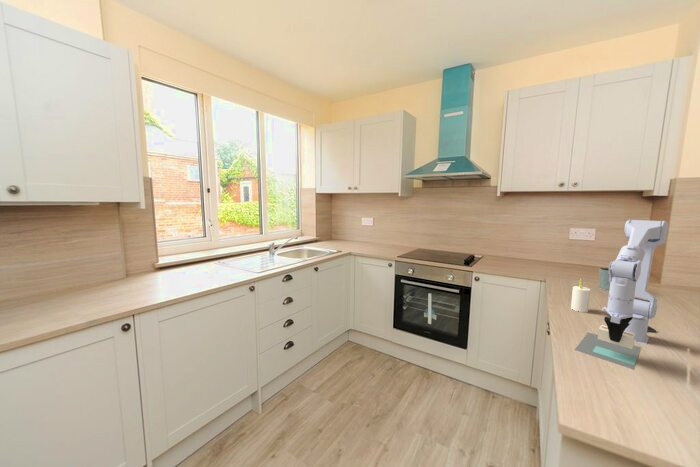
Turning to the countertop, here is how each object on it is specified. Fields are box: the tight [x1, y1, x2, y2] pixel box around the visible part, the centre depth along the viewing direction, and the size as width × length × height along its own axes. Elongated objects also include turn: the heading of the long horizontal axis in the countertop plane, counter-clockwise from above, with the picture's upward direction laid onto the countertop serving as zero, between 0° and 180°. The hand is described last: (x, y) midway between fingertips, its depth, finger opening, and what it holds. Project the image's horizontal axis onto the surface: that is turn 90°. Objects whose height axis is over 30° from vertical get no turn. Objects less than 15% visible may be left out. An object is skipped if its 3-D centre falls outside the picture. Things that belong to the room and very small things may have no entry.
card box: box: [597, 324, 635, 349], centre depth 88 cm, size 8×5×4 cm, turn 39°
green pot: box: [598, 267, 610, 291], centre depth 158 cm, size 10×10×12 cm
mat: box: [574, 332, 642, 370], centre depth 93 cm, size 20×14×1 cm
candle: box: [570, 278, 591, 313], centre depth 127 cm, size 6×6×15 cm
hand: (616, 338), depth 88 cm, fingers closed on card box, 5 cm apart
